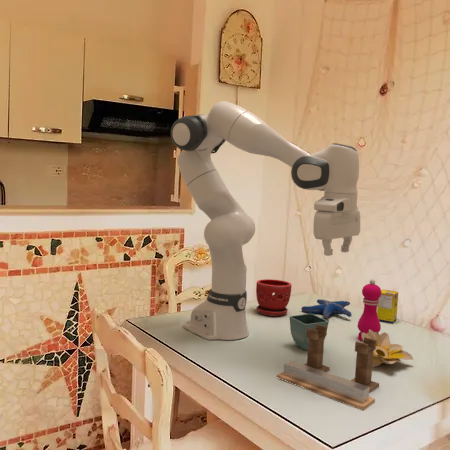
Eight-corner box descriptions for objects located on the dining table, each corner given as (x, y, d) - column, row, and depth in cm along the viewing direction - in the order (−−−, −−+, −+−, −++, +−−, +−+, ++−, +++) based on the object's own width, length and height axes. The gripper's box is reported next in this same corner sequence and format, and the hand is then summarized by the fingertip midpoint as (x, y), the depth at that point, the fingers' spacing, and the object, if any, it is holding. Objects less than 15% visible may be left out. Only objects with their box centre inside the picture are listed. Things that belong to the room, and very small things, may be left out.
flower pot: (304, 353, 146) (305, 324, 145) (287, 344, 153) (288, 315, 152) (327, 350, 150) (329, 321, 149) (309, 340, 158) (311, 313, 157)
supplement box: (396, 320, 185) (398, 291, 183) (392, 324, 179) (394, 294, 178) (380, 317, 188) (382, 288, 186) (376, 320, 183) (378, 291, 181)
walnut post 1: (298, 369, 134) (301, 327, 132) (310, 363, 138) (313, 322, 137) (318, 376, 130) (321, 332, 128) (329, 370, 134) (332, 327, 133)
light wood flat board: (276, 377, 128) (276, 374, 127) (289, 371, 132) (289, 368, 132) (363, 410, 112) (363, 406, 112) (374, 401, 116) (375, 398, 116)
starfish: (300, 305, 199) (301, 293, 199) (348, 309, 197) (348, 297, 196) (301, 319, 181) (302, 306, 180) (353, 323, 178) (354, 310, 178)
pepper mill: (380, 344, 157) (385, 282, 154) (357, 342, 158) (361, 280, 156) (378, 337, 164) (383, 278, 161) (355, 335, 165) (360, 276, 163)
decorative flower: (383, 372, 130) (381, 333, 131) (351, 367, 139) (349, 331, 140) (419, 366, 138) (416, 329, 139) (386, 362, 147) (384, 327, 149)
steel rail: (283, 374, 128) (284, 363, 128) (289, 371, 130) (290, 360, 130) (362, 403, 114) (363, 390, 113) (368, 399, 116) (369, 386, 115)
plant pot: (291, 318, 180) (293, 286, 179) (255, 317, 181) (257, 284, 179) (287, 309, 193) (289, 278, 192) (254, 307, 194) (255, 277, 192)
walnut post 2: (346, 386, 124) (349, 340, 123) (357, 379, 129) (360, 335, 128) (368, 393, 121) (372, 347, 119) (378, 386, 125) (382, 341, 124)
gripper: (347, 202, 145) (344, 248, 146) (310, 203, 130) (307, 255, 131) (367, 203, 141) (364, 251, 142) (332, 205, 125) (328, 259, 127)
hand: (336, 253), depth 137 cm, fingers open, 8 cm apart
